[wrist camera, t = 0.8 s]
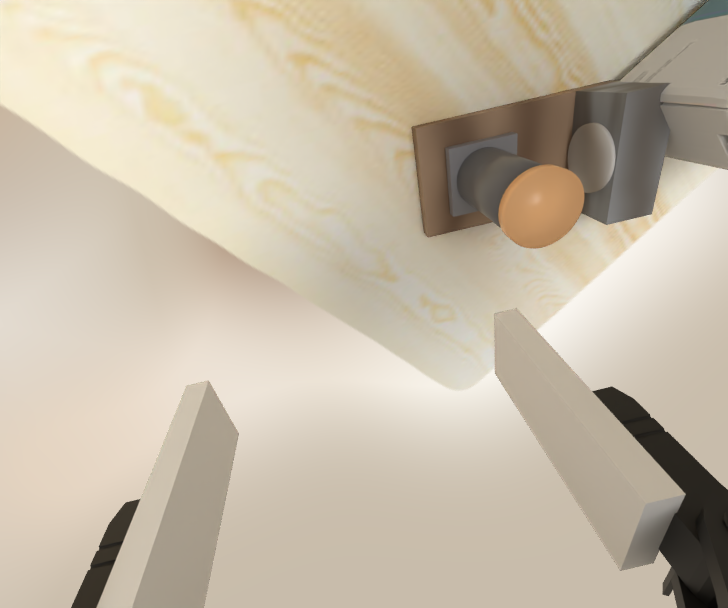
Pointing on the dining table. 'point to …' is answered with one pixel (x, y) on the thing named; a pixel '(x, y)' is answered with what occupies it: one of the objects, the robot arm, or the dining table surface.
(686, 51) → the stereo radio cassette player
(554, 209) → the knob
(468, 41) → the dining table surface
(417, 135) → the knob mount
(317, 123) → the dining table surface
